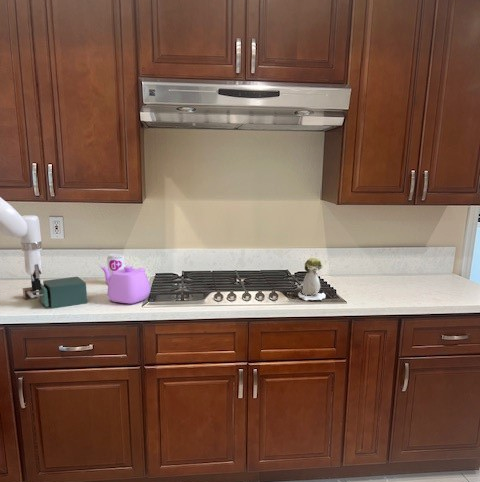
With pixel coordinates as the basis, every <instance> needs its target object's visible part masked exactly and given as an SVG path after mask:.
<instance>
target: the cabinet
mask: <svg viewBox="0 0 480 482" xmlns="http://www.w3.org/2000/svg"><path fill="white" fill-rule="evenodd" d="M42 285H43V286H44V287H45V285H46V286H47V287H48V288H49V289H50V298H51V304H50V303H49V301H48V304H49V307H50V308H51V309H58V308H65V307H72V306H77V305H85V304H88V293H87V292H88V291H87V282H86V281H85V280H83V279H82V278H80V277H78V276H72V277H71V276H70V277H64V278H63V277H62V278H55V279H46V280H42Z"/></svg>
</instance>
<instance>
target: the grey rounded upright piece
mask: <svg viewBox="0 0 480 482" xmlns="http://www.w3.org/2000/svg"><path fill="white" fill-rule="evenodd" d="M322 268H323V264H322V261H321V260H319V258H317V257H310V258H308V259H306V261H305V263H304V270H305V272H306V274H305V275H304V278H303V281H302V289H301V291H302V293H303V294H305V295H306V296H305V295H302V294H301V293H300V292H301V291H299V292H298V293H297V294H298V297H299V299H302V300H304V301H306V302H309V301H323V299H326V297H327V294H325V292H322V293H320V289H321V287H322V286H321V285H322V284H321V283H320V278H319V275H318V273H317V272H320V270H321V269H322ZM318 292H319V293H318ZM307 295H311V296H307Z"/></svg>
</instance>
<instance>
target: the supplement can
mask: <svg viewBox="0 0 480 482" xmlns="http://www.w3.org/2000/svg"><path fill="white" fill-rule="evenodd" d="M106 261H107V262H106V263H107V269H108V270H109V272H110V274H111V275H112V273H113V272H115V271H118V270H121V269H124V267H125V266H126V257H125V256H124V254H123V253H109V254H108V255H107V258H106Z"/></svg>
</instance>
